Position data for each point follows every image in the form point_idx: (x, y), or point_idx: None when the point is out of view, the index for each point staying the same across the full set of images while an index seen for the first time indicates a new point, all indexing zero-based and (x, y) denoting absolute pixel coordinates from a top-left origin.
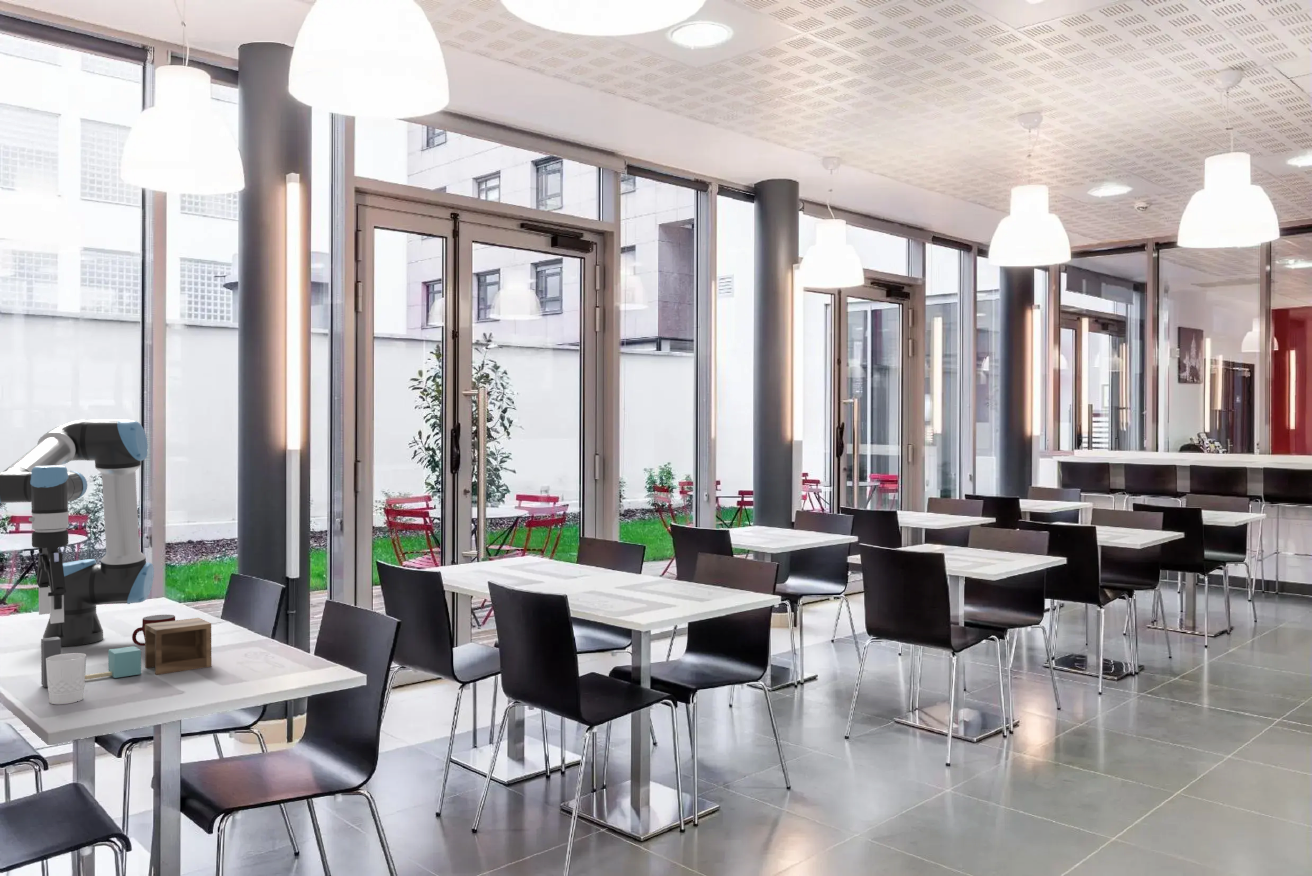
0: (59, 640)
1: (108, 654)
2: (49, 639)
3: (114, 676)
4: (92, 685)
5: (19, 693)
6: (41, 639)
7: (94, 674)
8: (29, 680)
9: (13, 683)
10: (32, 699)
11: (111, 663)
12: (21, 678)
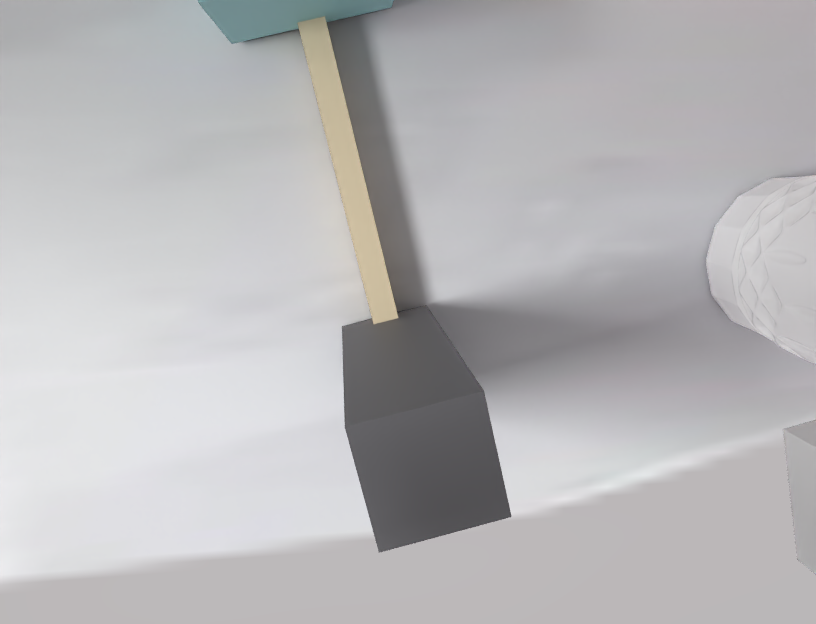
0: (482, 398)
1: (208, 12)
2: (452, 483)
3: (391, 5)
4: (492, 138)
5: None
6: (393, 546)
7: (348, 127)
8: (183, 477)
9: (225, 545)
10: (656, 413)
11: (308, 4)
12: (106, 523)
